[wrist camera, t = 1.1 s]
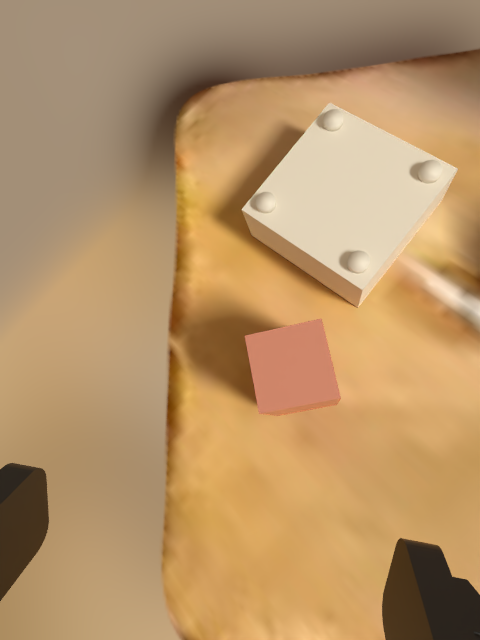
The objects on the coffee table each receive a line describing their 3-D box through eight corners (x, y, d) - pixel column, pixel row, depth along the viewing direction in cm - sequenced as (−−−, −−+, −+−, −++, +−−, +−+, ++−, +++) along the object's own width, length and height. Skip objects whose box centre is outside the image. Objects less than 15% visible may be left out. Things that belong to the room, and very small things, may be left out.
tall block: (266, 358, 36) (244, 335, 27) (323, 346, 35) (321, 318, 26) (277, 415, 35) (259, 413, 25) (336, 404, 34) (340, 398, 24)
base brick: (329, 140, 40) (329, 96, 34) (440, 202, 36) (460, 163, 31) (251, 235, 39) (239, 205, 34) (357, 307, 35) (363, 287, 30)
